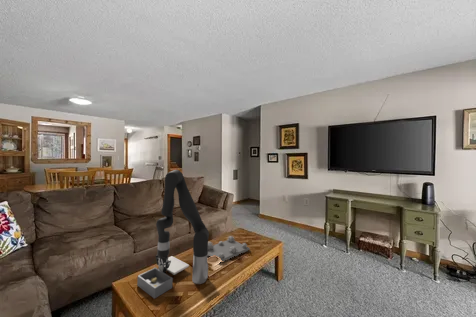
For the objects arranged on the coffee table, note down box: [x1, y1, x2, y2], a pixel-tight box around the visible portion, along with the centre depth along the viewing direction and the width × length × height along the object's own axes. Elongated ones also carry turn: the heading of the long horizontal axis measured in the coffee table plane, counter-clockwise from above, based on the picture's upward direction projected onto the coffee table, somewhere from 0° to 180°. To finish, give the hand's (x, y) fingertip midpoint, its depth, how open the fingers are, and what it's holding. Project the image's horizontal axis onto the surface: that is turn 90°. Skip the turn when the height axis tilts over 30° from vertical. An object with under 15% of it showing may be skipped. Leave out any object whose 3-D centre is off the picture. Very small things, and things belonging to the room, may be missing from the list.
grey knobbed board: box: [208, 235, 251, 262], centre depth 173 cm, size 35×26×10 cm
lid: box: [157, 255, 190, 276], centre depth 140 cm, size 17×19×4 cm
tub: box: [136, 266, 174, 300], centre depth 124 cm, size 12×18×6 cm, turn 55°
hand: (162, 272), depth 135 cm, fingers closed on lid, 3 cm apart
